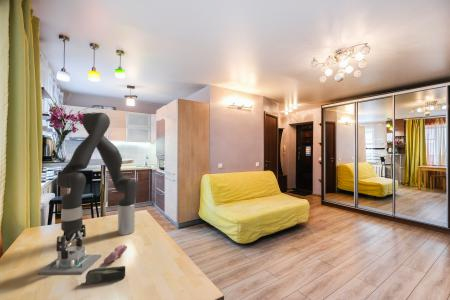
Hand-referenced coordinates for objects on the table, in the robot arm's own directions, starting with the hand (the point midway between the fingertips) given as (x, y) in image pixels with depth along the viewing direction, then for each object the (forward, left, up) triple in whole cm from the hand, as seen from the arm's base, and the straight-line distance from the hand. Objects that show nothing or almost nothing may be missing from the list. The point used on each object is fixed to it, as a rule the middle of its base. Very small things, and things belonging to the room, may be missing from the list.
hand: (72, 253), depth 89 cm
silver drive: (0, 0, -4) cm, 4 cm away
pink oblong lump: (-5, +17, -5) cm, 18 cm away
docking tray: (0, 0, -5) cm, 5 cm away
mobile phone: (+11, +20, -5) cm, 24 cm away
